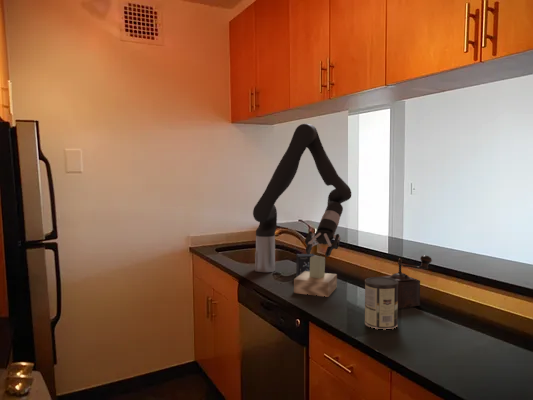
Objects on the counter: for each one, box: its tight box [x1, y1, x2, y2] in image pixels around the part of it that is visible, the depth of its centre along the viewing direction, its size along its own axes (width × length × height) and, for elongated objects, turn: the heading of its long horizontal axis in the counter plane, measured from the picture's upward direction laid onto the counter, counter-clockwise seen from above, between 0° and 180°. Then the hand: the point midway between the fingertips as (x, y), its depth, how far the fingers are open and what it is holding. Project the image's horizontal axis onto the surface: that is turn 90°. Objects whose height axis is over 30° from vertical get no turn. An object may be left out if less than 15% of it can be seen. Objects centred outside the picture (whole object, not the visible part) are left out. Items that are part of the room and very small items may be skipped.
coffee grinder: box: [381, 254, 433, 310], centre depth 153 cm, size 16×11×18 cm
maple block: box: [293, 271, 338, 298], centre depth 170 cm, size 14×14×6 cm
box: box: [295, 253, 316, 277], centre depth 189 cm, size 8×6×11 cm
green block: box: [309, 254, 326, 279], centre depth 169 cm, size 4×4×8 cm
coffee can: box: [364, 276, 399, 331], centre depth 132 cm, size 10×10×14 cm
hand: (317, 254), depth 170 cm, fingers open, 8 cm apart
